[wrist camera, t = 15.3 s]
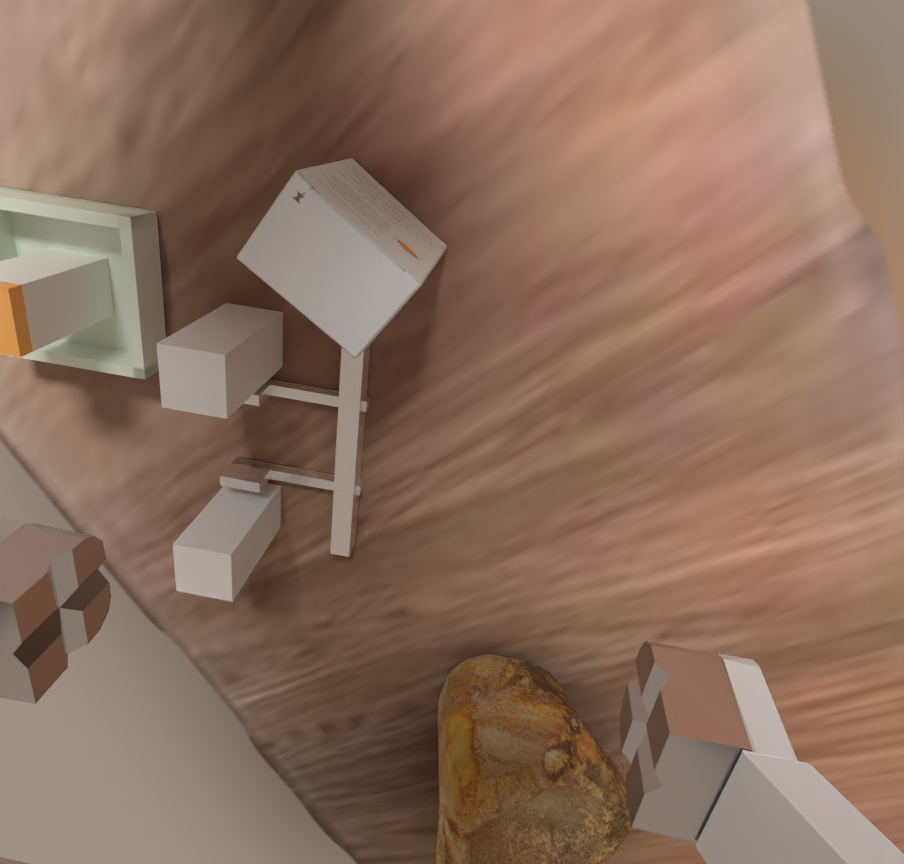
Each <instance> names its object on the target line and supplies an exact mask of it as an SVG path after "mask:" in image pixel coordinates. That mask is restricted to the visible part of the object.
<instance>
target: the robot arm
mask: <svg viewBox="0 0 904 864" xmlns="http://www.w3.org/2000/svg"><path fill="white" fill-rule="evenodd" d="M105 560H106V557H105V551H104V546H103V541H101V540H100V539H98V538H96V537H95V536H91V535H86V534H82V533H77V532H73V531H68V530H63V529H58V528H54V527H49V526H45V525H40V524H35V523H32V524H31V523H27V522H23V521H18V520H14V519H9V518H5V517H1V518H0V697H1V698H7V699H13V700H18V701H24V702H30V703H36V702H37V701H38V700H39V699H40V698H41V697H42V696H43V695H44V694H45V692H46V691H47V690H48V689H49V688H50V687H51V685H52V684H53V683H54V682H55V681H56V680H57V679H58V678H59V676H60V675H61V674H62V673H63V672H64V671H65V670H66V669H67V667H68V653H70V652H72V651H74V650H76V649H78V648H81V647H83V646H85V645H87V644H88V643H89V642H90V641H91V640H92V638H93V637H94V636H95V635H96V634H97V633H98V631H99V630H100V629H101V626H102V624H103V622H104V620H105V618H106V616H107V613H108V611H109V605H110V598H111V593H110V585H109V582H108V581H107V579H106V578H105V577H104V576H103V575H102V573H101V572H100V571H99V569H98V568H99V567H100V566H101V564H102V563H103V562H104V561H105ZM636 666H637V672H638V677H637V678H636V679H634V680H632V681H631V682H629V683H628V684H627V687H626V691H625V694H624V697H623V700H622V707H621V715H620V740H621V749H622V752H623V754H624V755H625V756H626V757H627V759H628V760H629V761H630V763H631V766H630V769H629V772H628V775H627V777H626V780H625V782H626V790H627V797H628V805H629V813H630V820H631V827H632V828H637V829H641V830H645V831H649V832H654V833H658V834H662V835H666V836H670V837H675V838H679V839H683V840H687V841H692V842H696V845H695V846H696V848H697V849H698V851H699V852H700V854H701V855H702V857H703V859H704V860H705V862H706V863H707V864H904V854H903V853H902V852H901V851H900V850H899V849H898V848H897V847H896V846H894V845H893V844H892V843H891V842H890V841H889V840H888V839H887V838H886V837H885V836H884V835H883V834H882V833H881V832H880V831H879V830H878V829H877V828H876V827H875V826H874V825H873V824H872V823H871V822H870V821H868V820H867V819H866V818H865V817H864V816H863V815H862V814H861V813H860V812H859V811H858V810H857V809H856V808H855V807H854V806H853V805H852V804H851V803H850V802H849V801H848V800H847V799H846V798H845V797H844V796H843V795H841V794H840V793H839V792H838V791H837V790H836V789H835V788H834V787H833V786H832V785H831V784H830V783H829V782H828V781H827V780H826V779H825V778H824V777H823V776H822V775H821V774H820V773H819V772H818V771H817V770H815V769H814V768H813V767H812V766H811V765H810V764H809V763H804V762H800V761H798V760H797V758H796V756H795V753H794V751H793V748H792V746H791V743H790V741H789V738H788V736H787V733H786V731H785V728H784V726H783V724H782V721H781V719H780V716H779V714H778V711H777V709H776V706H775V704H774V701H773V699H772V696H771V694H770V692H769V689H768V687H767V684H766V682H765V679H764V677H763V674H762V672H761V669H760V667H759V665H758V664H757V663H756V662H755V661H754V660H752V659H747V658H741V657H735V656H729V655H723V654H713V653H708V652H703V651H697V650H692V649H686V648H681V647H676V646H670V645H665V644H659V643H654V642H648V641H645V642H644V644H643V645H642V646H641V648H640V650H639V653H638V656H637V659H636ZM0 864H28V863H23V862H19V861H14V860H10V859H6V858H1V857H0Z"/></svg>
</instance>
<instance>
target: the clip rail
mask: <svg viewBox="0 0 904 864" xmlns="http://www.w3.org/2000/svg"><path fill="white" fill-rule="evenodd" d="M370 350H371V344H370V345H369V346H368V347H367V348H366V349H365V350H364V351H363V352H362V353H361V354H360V356H359V357H357V358H354V357H353V356H352V355H350V354H349V353H348V352H347V351H346V350H345V349H343V348H342V349H341V367H340V385H339V391H337V390H331V389H326V388H320V387H314V386H308V385H303V384H297V383H291V382H285V381H280V380H274V379H269V380H268V381H267V382H266V383H265V384H264V385H262V386H261V387H260V388H259V389H258V390H257V391H256V392H255V393H254V394H253V395H252V396H251V397H250V398H249V399H248V400H247V401H245V402H244V403H243V404H249V405H254V406H260V405H261V404H262V403H263V402H264V401H265V400H266V399H267V398H268V397H269V396H270V395H272V396H278V397H283V398H289V399H295V400H300V401H306V402H312V403H317V404H323V405H329V406H335V407H338V421H337V439H336V457H335V475H334V474H329V473H323V472H318V471H312V470H307V469H301V468H296V467H290V466H285V465H279V464H274V463H268V462H263V461H257V460H252V459H246V458H241V457H237V458H236V459H235V460H234V461H233V462H232V463H231V464H230V465H229V467H228V468H227V469H226V470H225V471H224V472H223V473H222V474H221V475H220V485H221V486H226V487H231V488H237V489H242V490H248V491H253V492H259V493H260V491H261V490H262V489H263V487H264V486H265V485H266V484H267V482H268V481H269V480H270V479H272V480H278V481H283V482H289V483H294V484H299V485H305V486H310V487H316V488H321V489H327V490H332V491H334V494H333V512H332V530H331V548H330V553H331V554H336V555H341V556H346V557H349V556H350V554H351V551H352V549H353V547H354V545H355V543H356V532H357V519H358V506H359V495H360V494H361V492H362V490H363V483H364V480H362V479H361V467H362V454H363V441H364V428H365V415H366V411H367V410H368V408H369V407H370V396H367V389H368V376H369V363H370Z"/></svg>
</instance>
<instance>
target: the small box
mask: <svg viewBox="0 0 904 864" xmlns="http://www.w3.org/2000/svg"><path fill="white" fill-rule="evenodd" d="M446 249H447V245H446V244H445V243H443V242H442V241H441V240H440V239H439V238H438V237H437V236H436V235H435V234H433V233H432V232H431V231H430V230H429V229H428V228H427V227H426V226H425V225H424V224H423V223H422V222H420V221H419V220H418V219H417V218H416V217H415V216H414V215H413V214H412V213H411V212H410V211H409V210H407V209H406V208H405V207H404V206H403V205H402V204H401V203H400V202H399V201H398V200H397V199H395V198H394V197H393V196H392V195H391V194H390V193H389V192H388V191H387V190H386V189H385V188H384V187H382V186H381V185H380V184H379V183H378V182H377V181H376V180H375V179H374V178H373V177H372V176H371V175H369V174H368V173H367V172H366V171H365V170H364V169H363V168H362V167H361V166H360V165H359V164H358V163H357V162H356V161H355V160H354V159H352V158H349V159H345V160H341V161H336V162H332V163H327V164H323V165H318V166H313V167H309V168H304V169H300V170H296V171H295V172H294V174H293V175H292V177H291V178H290V180H289V181H288V183H287V184H286V185H285V187H284V188H283V190H282V191H281V193H280V194H279V196H278V197H277V199H276V200H275V202H274V203H273V205H272V206H271V207H270V209H269V210H268V212H267V213H266V215H265V216H264V218H263V219H262V221H261V222H260V223H259V225H258V226H257V228H256V229H255V231H254V232H253V234H252V235H251V236H250V238H249V239H248V241H247V242H246V244H245V245H244V247H243V248H242V250H241V251H240V252H239V254H238V255H237V260H238V261H240V262H241V263H242V264H243V265H245V266H246V267H247V268H248V269H249V270H250V271H252V272H253V273H254V274H255V275H256V276H258V277H259V278H260V279H261V280H262V281H264V282H265V283H266V284H267V285H268V286H270V287H271V288H272V289H273V290H274V291H275V292H277V293H278V294H279V295H280V296H281V297H283V298H284V299H285V300H286V301H288V302H289V303H290V304H291V305H292V306H293V307H295V308H296V309H297V310H298V311H299V312H301V313H302V314H303V315H304V316H305V317H307V318H308V319H309V320H310V321H311V322H313V323H314V324H315V325H316V326H317V327H318V328H320V329H321V330H322V331H323V332H324V333H326V334H327V335H328V336H329V337H330V338H332V339H333V340H334V341H335V342H336V343H337V344H339V345H340V346H341V347H342V348H343V349H345V350H346V351H347V352H348V353H349V354H350V355H352V356H353V357H354V358H357V357H359V356H360V354H361V353H362V352H363V351H364V350H365V349H366V348H367V347H368V346H369V345H370V344H371V342H372V341H373V340H374V339H375V338H376V337H377V336H378V335H379V334H380V332H381V331H382V330H383V329H384V328H385V327H386V326H387V325H388V323H389V322H390V321H391V320H392V319H393V318H394V317H395V316H396V314H397V313H398V312H399V311H400V310H401V309H402V307H403V306H404V305H405V304H406V303H407V302H408V301H409V299H410V298H411V297H412V296H413V295H414V294H415V293H416V291H417V290H418V289H419V288H420V287H421V286H422V284H423V283H424V281H425V279H426V278H427V277H428V275H429V274H430V272H431V271H432V269H433V268H434V266H435V265H436V264H437V262H438V261H439V259H440V258H441V256H442V255H443V253H444V252H445V250H446Z"/></svg>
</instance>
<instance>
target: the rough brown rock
mask: <svg viewBox="0 0 904 864" xmlns="http://www.w3.org/2000/svg"><path fill="white" fill-rule="evenodd" d="M438 753H439V762H438V764H439V804H440V805H439V810H438V811H439V823H438V832H437V845H436V864H600V863H602V862H604V861H606V860H607V859H608V858H609V857H610V856H611V855H613V853H614V852H615V851H616V849H617V848H618V846H619V845H620V844H621V843H622V841H623V840H624V839H625V838H626V837H627V835H628V834H629V833H630V831H631V820H630V813H629V805H628V797H627V790H626V785H625V783H624V782H623V780H622V778H621V775H620V773H619V771H618V770H617V768H616V766H615V765H614V763H613V762H612V760H611V759H610V758H609V757H608V756H607V755H606V754H605V753H604V751H603V749H602V748H601V746H600V745H599V744H598V743H597V742H596V741H595V740H594V738H593V737H592V736H591V734H590V732H589V731H588V729H587V728H586V726H585V725H584V723H583V722H582V721H581V719H580V718H579V716H578V715H577V713H576V711H575V710H574V708H573V706H572V705H571V703H570V701H569V699H568V697H567V695H566V693H565V691H564V689H563V688H562V687H561V685H560V684H559V683H558V681H557V680H556V679H555V678H554V677H553V676H552V675H551V674H550V673H549V672H547V671H545V670H543V668H540V667H534V666H532V665H529V664H527V663H526V662H524V661H522V660H520V659H515V658H510V657H505V656H499V655H492V654H485V655H481V656H476V657H472V658H469V659H467V660H465V661H463V662H461V663H460V664H459V665H457V666H456V667H455V668H454V669H453V670H452V671H451V672H450V673H449V674H448V675H447V676H446V680H445V684H444V687H443V689H442V691H441V694H440V698H439V702H438Z"/></svg>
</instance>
